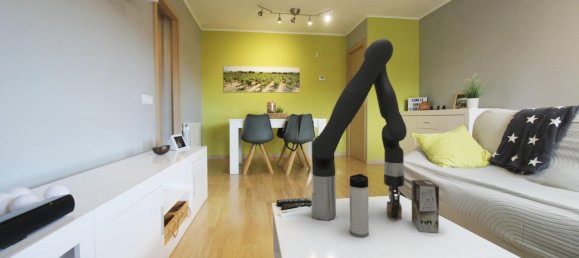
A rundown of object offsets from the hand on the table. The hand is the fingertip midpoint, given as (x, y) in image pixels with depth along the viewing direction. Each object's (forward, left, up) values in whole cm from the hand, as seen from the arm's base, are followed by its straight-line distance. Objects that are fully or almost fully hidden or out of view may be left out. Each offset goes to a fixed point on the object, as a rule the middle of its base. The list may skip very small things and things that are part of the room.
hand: (394, 214), depth 95 cm
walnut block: (0, 0, -1) cm, 1 cm away
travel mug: (-13, -18, -1) cm, 22 cm away
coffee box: (+9, -7, -1) cm, 12 cm away
